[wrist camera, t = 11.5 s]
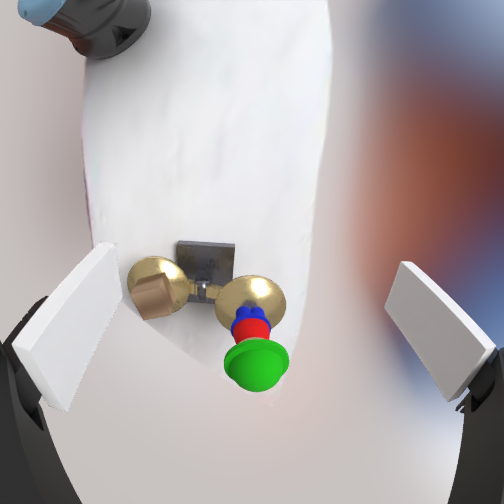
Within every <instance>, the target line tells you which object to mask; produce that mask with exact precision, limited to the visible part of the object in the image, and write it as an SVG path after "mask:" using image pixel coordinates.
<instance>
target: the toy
mask: <svg viewBox="0 0 504 504" xmlns="http://www.w3.org/2000/svg"><path fill="white" fill-rule="evenodd" d="M270 331H271V325H270V322H269V321H268V319H267V318H266V317H265V313H264V310H263V309H262V308H260V307H254V308H252V309H251V310H250V309H249V308H248V307H240V308H238V309H237V310H236V319H235V320H234V321H233V323H232V325H231V334H232V336H233V337H234V339H235V342H236V344H237V345H235V346H233V347H232V348H231V349H230V350H229V351H228V352H227V354H226V356H225V359H224V369H225V372H226V374H227V375H228V376H229V377H230V378H231V379H233V380H234V381H235V382H236V383H237V384H238V385H239V386H240V387H242V388H243V389H245V390H248V391H252V392H262V391H265V390H268V389H270V388H272V387H273V386H274V385H275V384H276V383H277V382H278V381H279V379H280V378H281V376H282V375H283V374H284V373H285V372H286V370H287V369H288V366H289V357H288V353H287V351H286V349H285V348H284V347H283V346H281V345H280V344H278V343H277V342H274V341H271V340H269V336H270Z"/></svg>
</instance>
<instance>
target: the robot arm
mask: <svg viewBox="0 0 504 504" xmlns="http://www.w3.org/2000/svg"><path fill="white" fill-rule="evenodd" d="M18 12H19V15H20V16H21V17H22V18H23V19H25V20H27V21H29V22H31V23H32V24H33V25H35V26H41V27H44V28H46V29H49V30H51V31H54V32H56V33H59V34H61V35H63V36H66V37H68V38H69V40H70V41H71V42H72V44H73V46H74V48H75V50H76V51H77V52H78V53H80V54H81V55H83V56H86V57H88V58H91V59H105V58H109V57H112V56H114V55H117V54H119V53H121V52H122V51H124V50H125V49H127V48H128V47H130V46H131V45H132V44H133V43H134V42H135V41H136V40H137V39H138V38H139V37H140V36H141V35H142V33H143V32H144V30H145V29H146V27H147V25H148V23H149V20H150V16H151V7H150V4H149V2H148V0H18ZM122 298H123V294H122V288H121V281H120V275H119V267H118V259H117V251H116V243H109V242H100V243H99V244H98V245H97V246H96V247H95V248H94V249H93V250H92V251H91V252H90V253H89V254H88V255H87V256H86V257H85V258H84V259H83V260H82V261H81V262H80V263H79V264H78V265H77V266H76V267H75V268H74V269H73V270H72V272H70V274H69V275H68V276H67V277H66V278H65V279H64V280H63V281H62V282H61V283H60V284H59V286H58V287H57V288H56V289H55V290H54V291H53V293H52V294H51V295H50V296H45V297H44V298H42V299H40V300H39V301H38V302H36V303H35V304H34V305H33V306H32V308H31V309H30V310H29V311H28V313H27V314H26V315H25V316H24V317H23V318H22V321H20V322H19V323H18V325H17V326H16V327H15V328H14V330H13V331H12V332H11V334H10V335H9V336H8V338H7V339H6V340H5V342H4V343H3V344H2V343H1V341H0V504H82V503H81V501H80V499H79V497H78V496H77V494H76V492H75V490H74V488H73V486H72V484H71V482H70V480H69V478H68V476H67V474H66V472H65V470H64V467H63V465H62V463H61V461H60V458H59V456H58V454H57V451H56V448H55V446H54V443H53V441H52V438H51V435H50V432H49V430H48V427H47V424H46V420H45V417H44V414H43V411H42V408H41V406H40V404H39V403H38V402H39V400H40V398H41V396H42V397H43V398H44V399H45V401H46V402H47V404H48V405H49V406H50V407H53V408H56V409H58V410H61V411H64V412H68V410H69V408H70V405H71V403H72V400H73V398H74V396H75V393H76V391H77V389H78V386H79V384H80V382H81V379H82V377H83V375H84V373H85V370H86V368H87V366H88V364H89V362H90V360H91V358H92V355H93V353H94V352H95V349H96V347H97V345H98V343H99V341H100V339H101V337H102V335H103V333H104V331H105V330H106V328H107V326H108V324H109V322H110V320H111V318H112V316H113V314H114V313H115V311H116V309H117V307H118V305H119V304H120V302H121V300H122ZM384 308H385V310H386V311H387V312H388V314H389V315H390V316H391V318H392V319H393V321H394V322H395V323H396V325H397V326H398V328H399V329H400V330H401V332H402V333H403V335H404V336H405V338H406V339H407V341H408V342H409V343H410V345H411V346H412V348H413V349H414V351H415V352H416V354H417V355H418V357H419V358H420V360H421V361H422V363H423V364H424V366H425V367H426V369H427V370H428V372H429V373H430V375H431V376H432V378H433V380H434V381H435V383H436V384H437V386H438V388H439V389H440V391H441V392H442V394H443V396H444V397H445V399H446V401H447V402H449V401H452V400H454V399H456V398H459V396H460V395H461V394H462V393H463V392H464V390H465V389H466V388H467V387H468V389H469V390H470V392H469V393H468V394H467V395H466V397H465V398H464V399H463V400H462V401H461V403H460V404H459V405H458V406H457V407H456V410H455V411H458V410H459V409H460V408H461V406H464V408H462V410H461V411H460V412H461V413H464V424H463V433H462V441H461V447H460V453H459V459H458V464H457V469H456V474H455V478H454V482H453V486H452V490H451V494H450V497H449V501H448V504H504V348H501V349H500V350H499V351H498V350H497V349H496V348H495V347H496V345H495V344H494V343H493V342H492V341H491V340H490V339H489V337H488V336H487V335H486V334H485V333H484V332H483V331H482V330H481V329H480V328H479V326H478V325H477V324H476V323H475V322H474V321H473V320H472V319H471V318H470V317H469V316H468V315H467V314H466V313H465V312H464V311H463V310H462V309H461V308H460V307H459V306H458V305H457V304H456V303H455V302H454V301H453V300H452V299H451V298H450V297H449V296H448V295H447V294H446V293H445V292H444V291H443V290H442V289H441V288H440V287H439V286H438V285H437V284H436V283H434V281H432V280H431V279H430V278H429V277H428V276H427V275H426V274H425V273H424V272H423V271H421V270H420V269H419V268H418V267H417V266H416V265H415V264H413V263H412V262H403V261H401V262H400V265H399V268H398V271H397V274H396V277H395V280H394V283H393V286H392V288H391V291H390V294H389V296H388V299H387V301H386V304H385V307H384Z"/></svg>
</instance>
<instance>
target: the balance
mask: <svg viewBox="0 0 504 504" xmlns="http://www.w3.org/2000/svg"><path fill="white" fill-rule="evenodd" d="M234 253H235V244H226V243H210V242H194V241H179V242H178V265H177V264H176V263H174V262H173V261H171V260H169V259H166V258H163V257H158V256H151V257H146V258H143V259H141V260H139V261H138V262H136V263H135V264H134V265H133V267H132V268H131V270H130V272H129V274H128V279H127V285H128V289H129V292H130V294H131V292H132V290H133V288H134V287H135V285H136V283H137V281H138V279H140V278H144V277H147V276H151V275H155V274H159V273H163V272H165V274H166V276H167V278H168V280H169V283H170V285H171V287H172V289H173V291H174V293H175V296H176V299H175V302H174V306H173V309H172V313H173V312H176V311H178V310H179V309H181V308H182V307H183V306H184V305H185V303H186V302H199V303H214V304H215V313H216V316H217V319H218V320H219V322H220V323H221V324H222V325H223V326H224V327H225V328H226V329H228V330H230V331H231V325H232V323H233V321H234V320H235V319H236V310H237V309H238V308H240V307H248V308H249V309H250V310H251V309H252V308H254V307H260V308H262V309H263V310H264V313H265V317H266V318H267V319H268V321H269V322H270V325H271V329H272V328H273V327H275V326H276V325H277V324H278V323H279V322H280V321H281V319H282V318H283V316H284V314H285V310H286V300H285V296H284V294H283V291H282V290H281V288H280V287H279V286H278V285H277V284H276V283H275V282H273V281H272V280H270V279H268V278H265V277H262V276H256V275H247V276H241V277H238V278H235V279H233V280H232V278H233V265H234Z"/></svg>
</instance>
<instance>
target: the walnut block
mask: <svg viewBox="0 0 504 504" xmlns="http://www.w3.org/2000/svg"><path fill="white" fill-rule="evenodd" d="M130 296H131V298H132V300H133V302H134V304H135V306H136V308H137V309H138V311H139V313H140V315H141V317H142V318H143V320H148V319H153V318H158V317H163V316H168V315H171V313H172V309H173V306H174V302H175V299H176V296H175V293H174V291H173V289H172V287H171V285H170V283H169V280H168V278H167V276H166V274H165V272H163V273H159V274H155V275H151V276H147V277H144V278H140V279H138V281H137V283H136V285H135V287H134V288H133V290H132V292H131V294H130Z"/></svg>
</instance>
